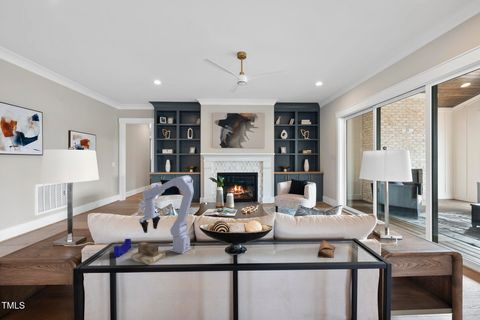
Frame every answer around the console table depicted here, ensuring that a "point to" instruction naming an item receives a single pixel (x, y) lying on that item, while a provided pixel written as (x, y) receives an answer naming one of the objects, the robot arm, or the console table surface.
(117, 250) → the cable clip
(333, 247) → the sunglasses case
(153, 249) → the walnut bar
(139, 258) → the cutout board
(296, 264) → the console table surface
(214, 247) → the console table surface
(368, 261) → the console table surface
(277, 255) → the console table surface
